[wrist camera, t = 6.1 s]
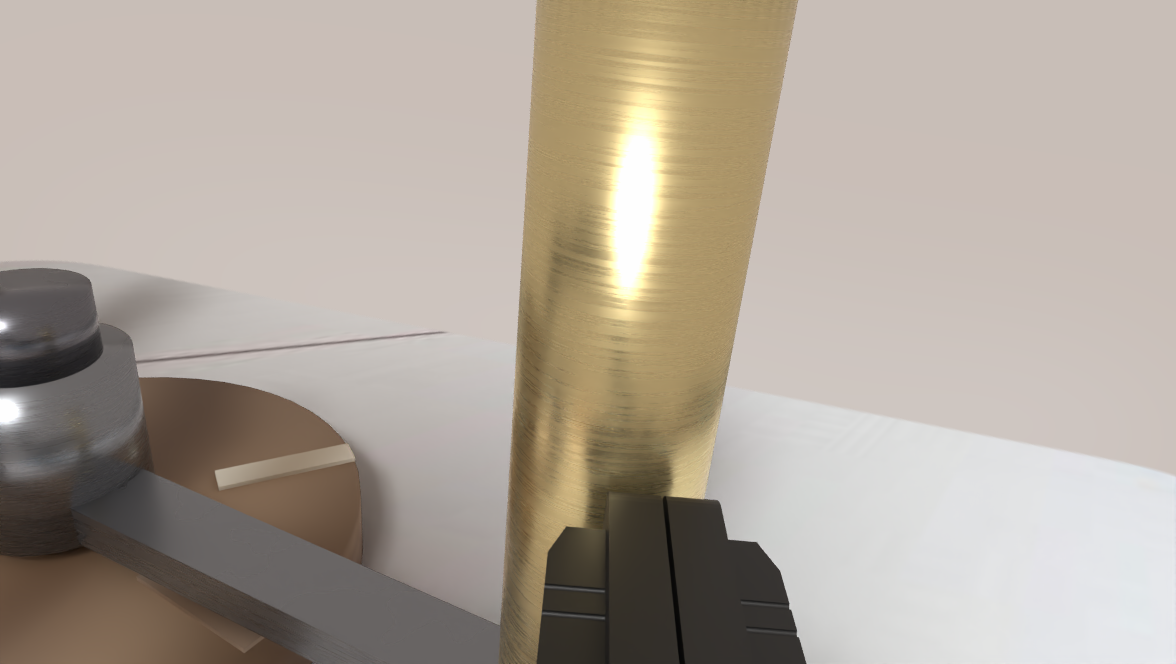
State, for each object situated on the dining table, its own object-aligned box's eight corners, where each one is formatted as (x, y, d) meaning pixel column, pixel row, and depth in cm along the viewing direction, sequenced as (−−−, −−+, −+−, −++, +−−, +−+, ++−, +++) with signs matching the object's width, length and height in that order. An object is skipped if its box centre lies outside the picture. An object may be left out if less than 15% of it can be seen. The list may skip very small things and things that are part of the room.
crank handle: (-60, 564, 19) (-299, -156, 13) (95, 480, 23) (-34, -125, 16) (595, 938, 13) (762, -69, 7) (674, 747, 17) (835, -48, 10)
